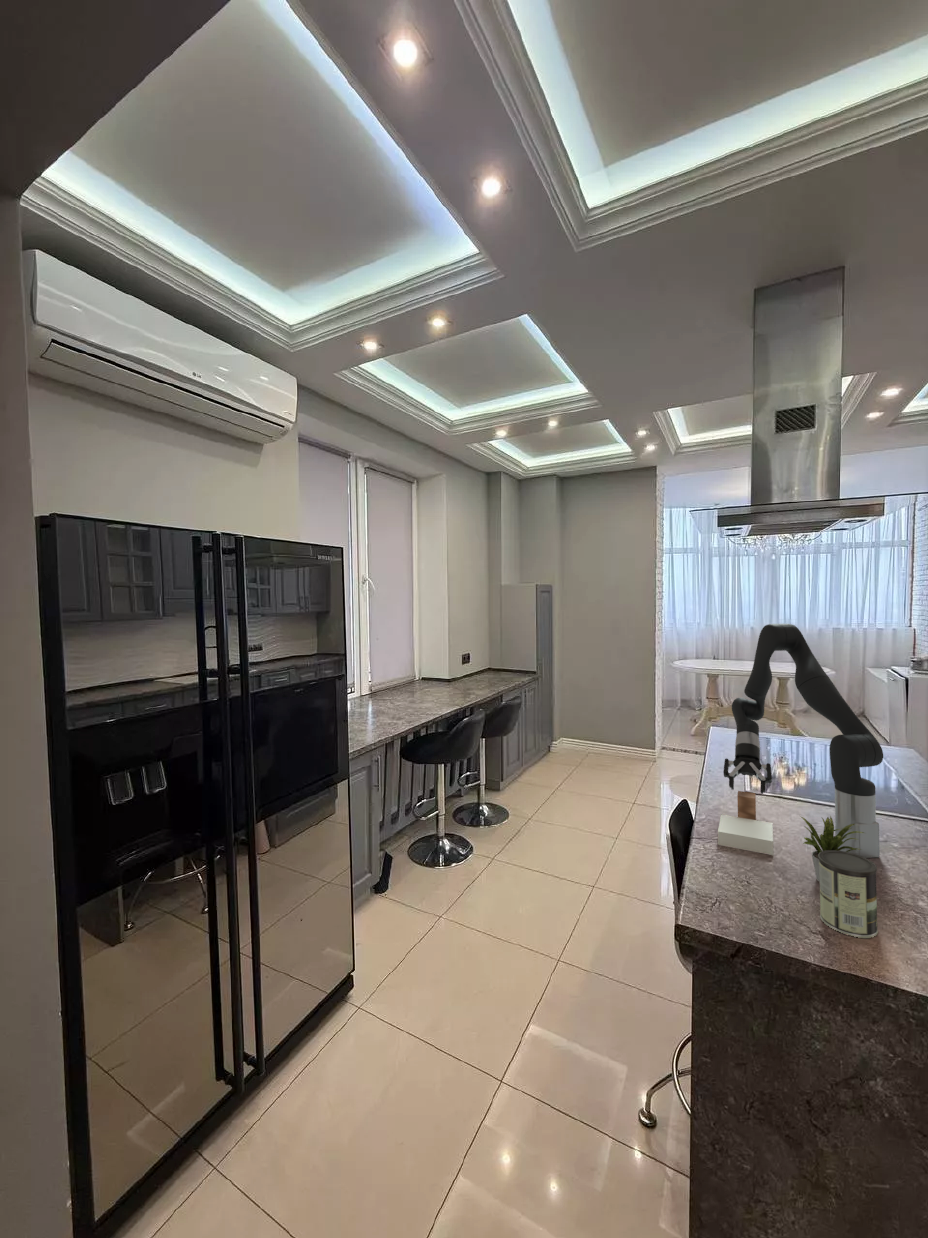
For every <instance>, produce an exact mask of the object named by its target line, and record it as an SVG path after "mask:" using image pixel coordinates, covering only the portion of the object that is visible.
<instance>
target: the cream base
mask: <svg viewBox="0 0 928 1238" xmlns="http://www.w3.org/2000/svg"><path fill="white" fill-rule="evenodd" d="M719 819H720V820H719V824H718V829H717V845H718V846H722V847H727V848H728V847H729V848H734V849H737V850H744V851H748V852H753V853H761V854H766V855H769V856H774V829H773V822H768V821H764V820H763V821H762V820H759V819H758V820H757V819H756V820H752V819H746V818H740V817H738V816H733V815H726V814H721V815H720V818H719Z"/></svg>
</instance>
